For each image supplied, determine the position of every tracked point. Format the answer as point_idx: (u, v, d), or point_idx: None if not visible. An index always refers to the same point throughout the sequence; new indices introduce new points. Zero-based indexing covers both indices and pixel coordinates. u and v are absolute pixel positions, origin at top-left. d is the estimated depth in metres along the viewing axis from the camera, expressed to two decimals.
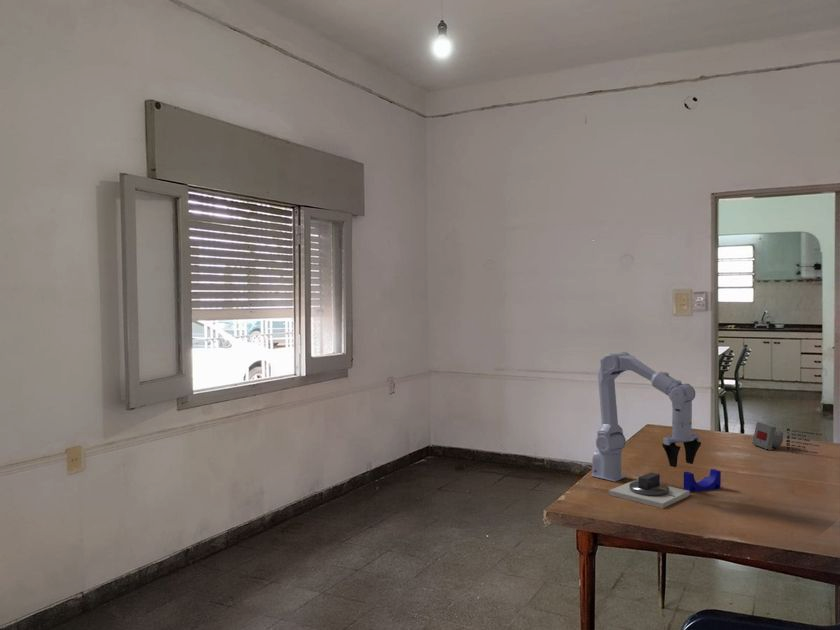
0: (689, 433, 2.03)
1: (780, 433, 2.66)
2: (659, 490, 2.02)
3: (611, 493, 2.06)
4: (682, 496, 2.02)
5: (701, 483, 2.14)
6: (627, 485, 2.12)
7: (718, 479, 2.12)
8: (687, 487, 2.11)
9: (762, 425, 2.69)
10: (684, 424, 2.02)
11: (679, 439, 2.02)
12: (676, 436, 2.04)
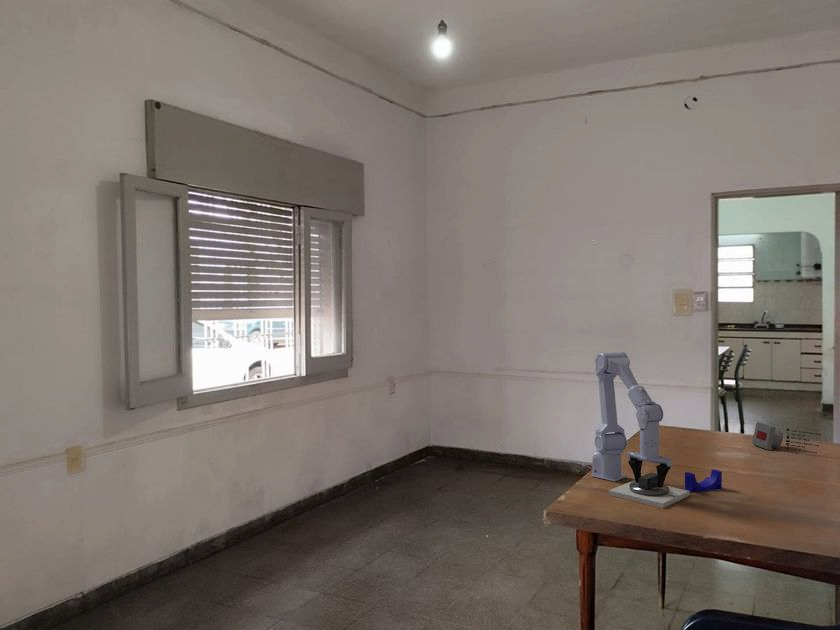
0: (645, 453, 2.04)
1: (780, 433, 2.66)
2: (659, 490, 2.02)
3: (611, 493, 2.06)
4: (682, 496, 2.02)
5: (702, 483, 2.13)
6: (627, 485, 2.12)
7: (719, 479, 2.12)
8: (688, 487, 2.10)
9: (762, 425, 2.69)
10: (641, 442, 2.05)
11: (636, 456, 2.07)
12: None
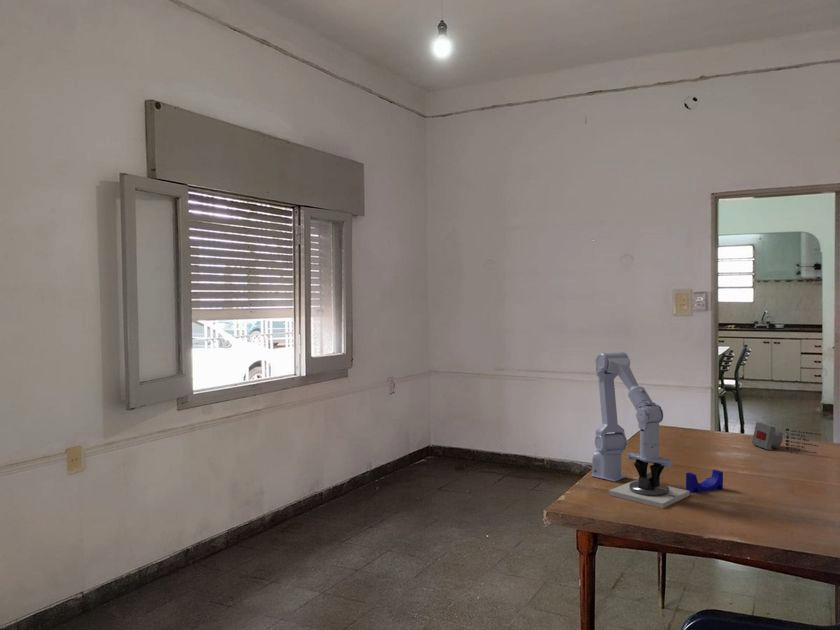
0: (645, 454, 2.04)
1: (779, 433, 2.66)
2: (659, 490, 2.02)
3: (611, 493, 2.06)
4: (682, 496, 2.02)
5: (703, 484, 2.13)
6: (627, 485, 2.12)
7: (720, 480, 2.12)
8: (689, 488, 2.10)
9: (761, 425, 2.69)
10: (640, 443, 2.05)
11: (636, 456, 2.07)
12: None
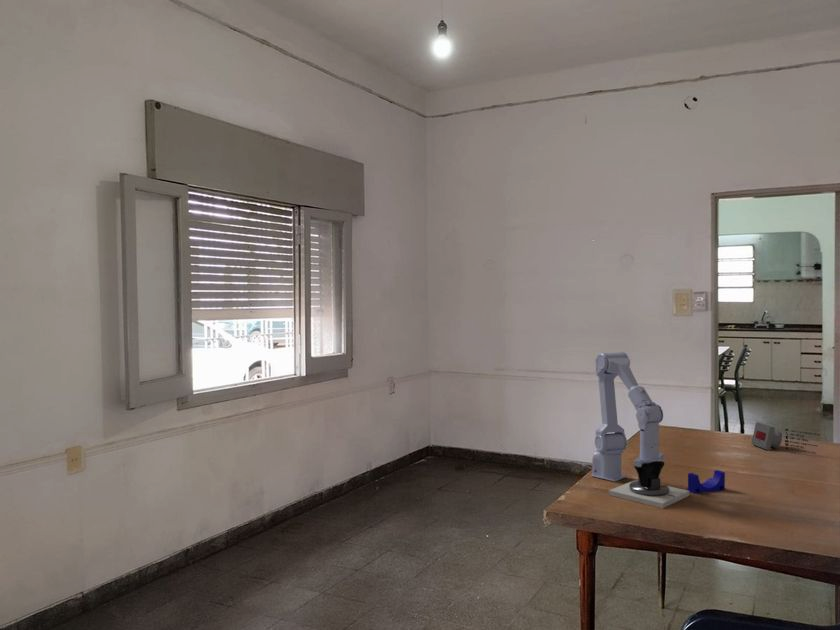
0: (657, 453, 2.04)
1: (779, 433, 2.66)
2: (663, 487, 2.05)
3: (611, 493, 2.06)
4: (682, 496, 2.02)
5: (705, 484, 2.12)
6: (627, 485, 2.12)
7: (722, 480, 2.11)
8: (691, 488, 2.09)
9: (761, 425, 2.69)
10: (653, 445, 2.03)
11: (649, 460, 2.02)
12: (645, 457, 2.04)
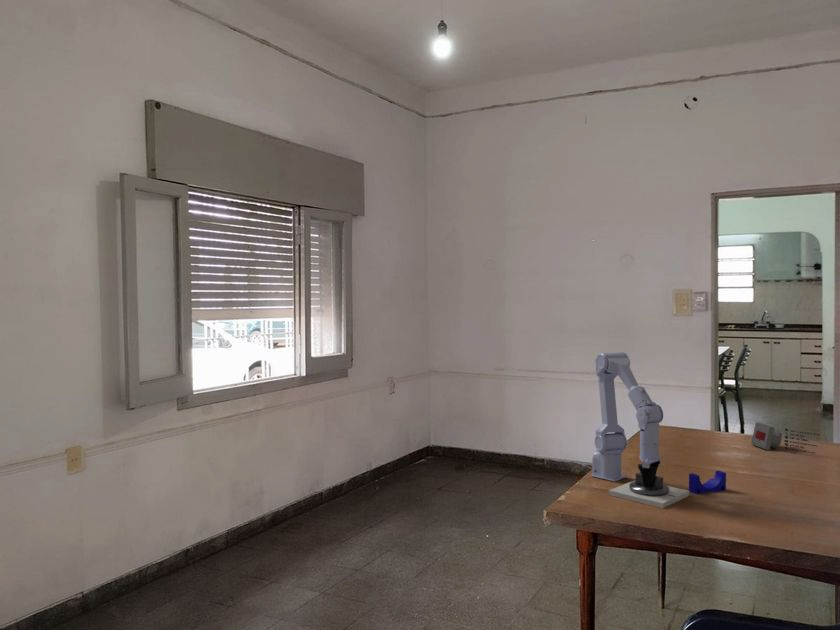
0: (658, 453, 2.05)
1: (779, 433, 2.66)
2: None
3: (611, 493, 2.06)
4: (682, 496, 2.02)
5: (706, 485, 2.12)
6: (627, 485, 2.12)
7: (723, 481, 2.11)
8: (692, 488, 2.09)
9: (761, 425, 2.69)
10: (656, 445, 2.03)
11: (654, 460, 2.02)
12: (649, 457, 2.03)
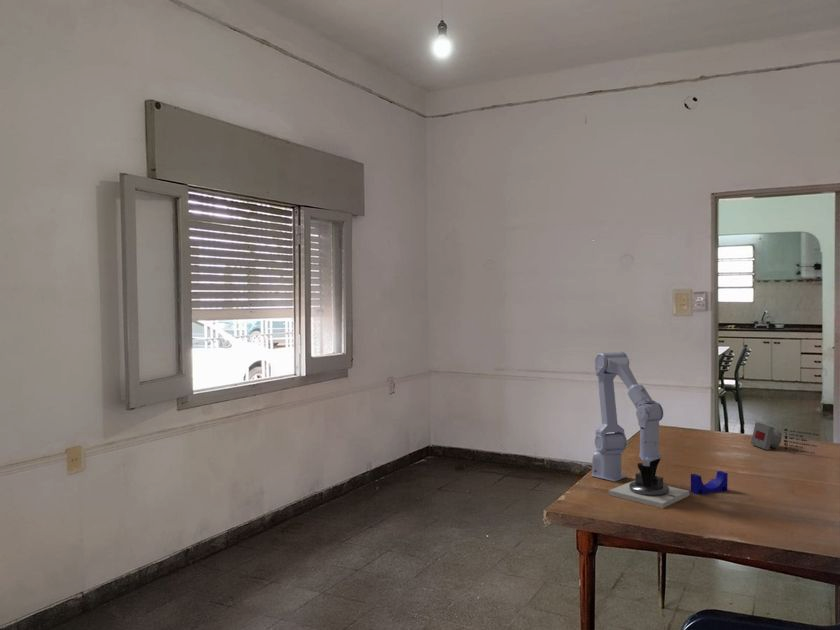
0: (658, 451, 2.05)
1: (778, 433, 2.66)
2: None
3: (611, 493, 2.06)
4: (682, 496, 2.02)
5: (708, 485, 2.11)
6: (627, 485, 2.12)
7: (725, 481, 2.10)
8: (694, 489, 2.08)
9: (760, 425, 2.69)
10: (656, 443, 2.03)
11: (654, 458, 2.02)
12: (649, 456, 2.03)
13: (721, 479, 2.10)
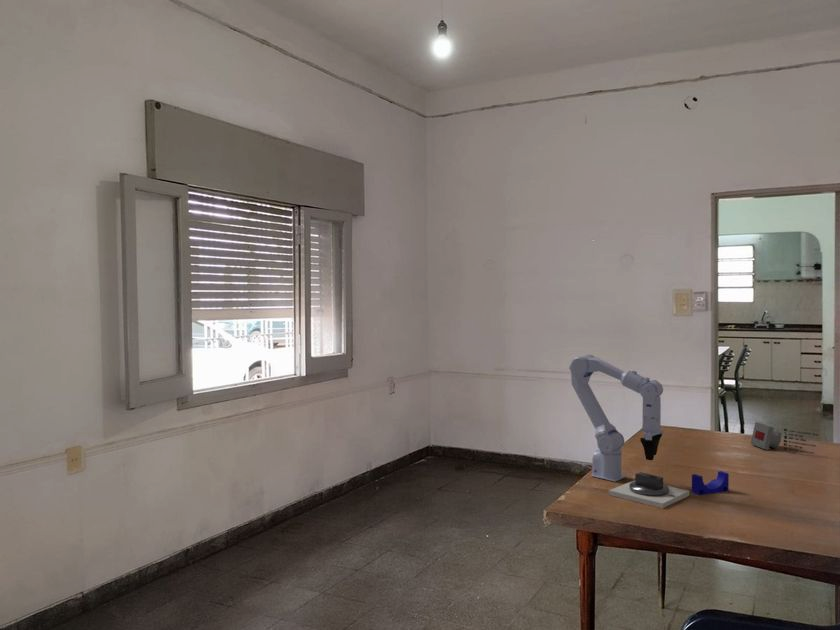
0: (660, 425, 2.16)
1: (778, 433, 2.66)
2: None
3: (611, 493, 2.06)
4: (682, 496, 2.02)
5: (709, 486, 2.11)
6: (627, 485, 2.12)
7: (726, 481, 2.10)
8: (695, 489, 2.08)
9: (760, 425, 2.69)
10: (658, 418, 2.14)
11: (656, 433, 2.13)
12: (651, 431, 2.14)
13: (722, 479, 2.10)
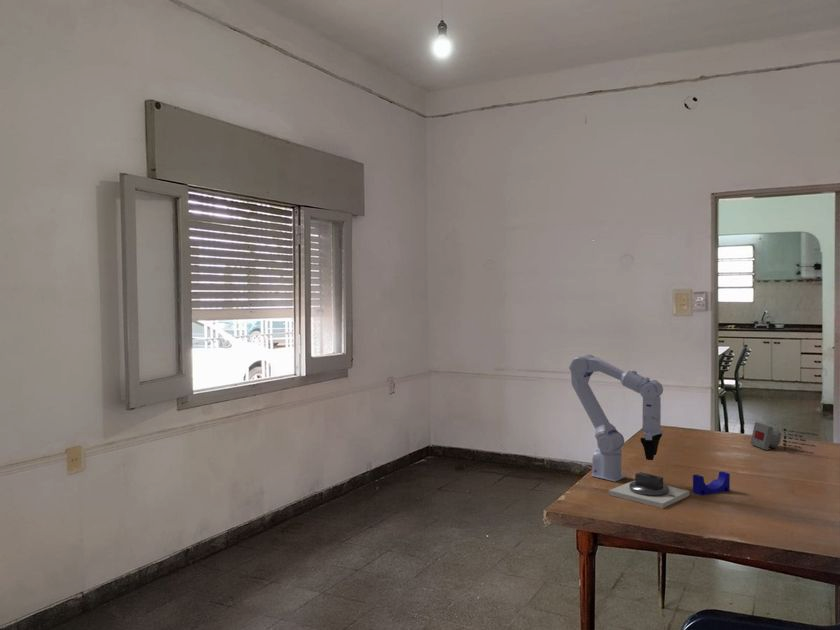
0: (660, 426, 2.16)
1: (778, 433, 2.66)
2: None
3: (611, 493, 2.06)
4: (682, 496, 2.02)
5: (710, 486, 2.11)
6: (627, 485, 2.12)
7: (727, 482, 2.09)
8: (696, 490, 2.07)
9: (760, 425, 2.69)
10: (658, 418, 2.14)
11: (656, 433, 2.13)
12: (651, 430, 2.14)
13: (723, 479, 2.10)
